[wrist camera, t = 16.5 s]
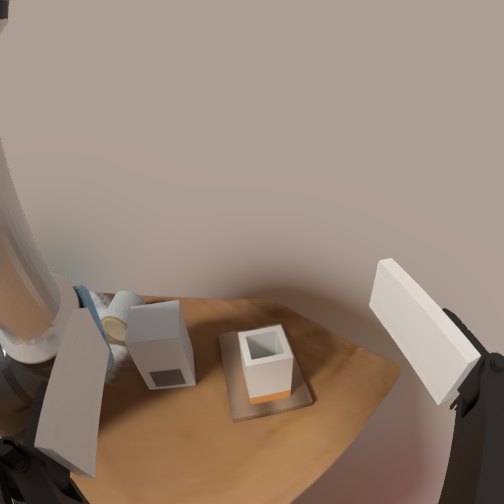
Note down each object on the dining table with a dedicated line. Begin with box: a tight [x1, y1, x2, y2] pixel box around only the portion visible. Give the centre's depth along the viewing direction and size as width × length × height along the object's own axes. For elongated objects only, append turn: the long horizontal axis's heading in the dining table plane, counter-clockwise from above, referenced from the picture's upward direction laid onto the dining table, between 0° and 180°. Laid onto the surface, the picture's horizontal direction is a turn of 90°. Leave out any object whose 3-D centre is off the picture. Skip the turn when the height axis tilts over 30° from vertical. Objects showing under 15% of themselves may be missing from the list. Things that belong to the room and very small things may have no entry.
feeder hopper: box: [125, 300, 196, 390], centre depth 43 cm, size 8×8×12 cm
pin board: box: [218, 323, 313, 422], centre depth 45 cm, size 12×18×5 cm, turn 11°
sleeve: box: [238, 325, 293, 405], centre depth 39 cm, size 6×6×10 cm
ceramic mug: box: [102, 290, 147, 341], centre depth 53 cm, size 11×8×8 cm
